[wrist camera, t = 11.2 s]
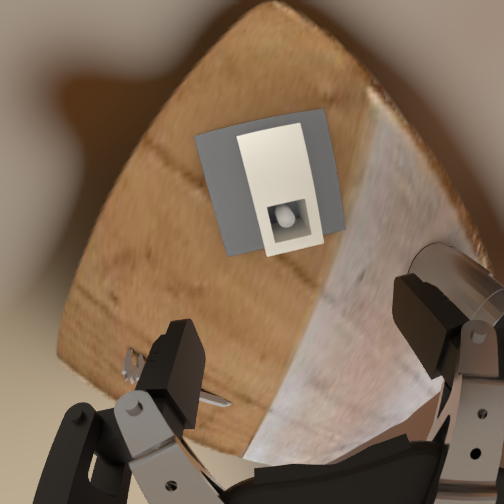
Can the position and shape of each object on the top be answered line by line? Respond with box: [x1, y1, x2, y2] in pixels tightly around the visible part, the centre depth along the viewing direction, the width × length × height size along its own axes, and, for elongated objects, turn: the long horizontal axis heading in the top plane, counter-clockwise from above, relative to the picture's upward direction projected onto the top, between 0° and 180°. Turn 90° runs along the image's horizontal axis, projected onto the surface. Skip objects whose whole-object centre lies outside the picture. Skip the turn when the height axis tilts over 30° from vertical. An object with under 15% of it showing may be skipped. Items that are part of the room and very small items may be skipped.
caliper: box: [122, 349, 232, 407], centre depth 38 cm, size 20×1×6 cm, turn 50°
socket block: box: [236, 123, 324, 257], centre depth 26 cm, size 5×11×6 cm, turn 14°
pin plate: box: [194, 109, 345, 257], centre depth 27 cm, size 14×14×6 cm
